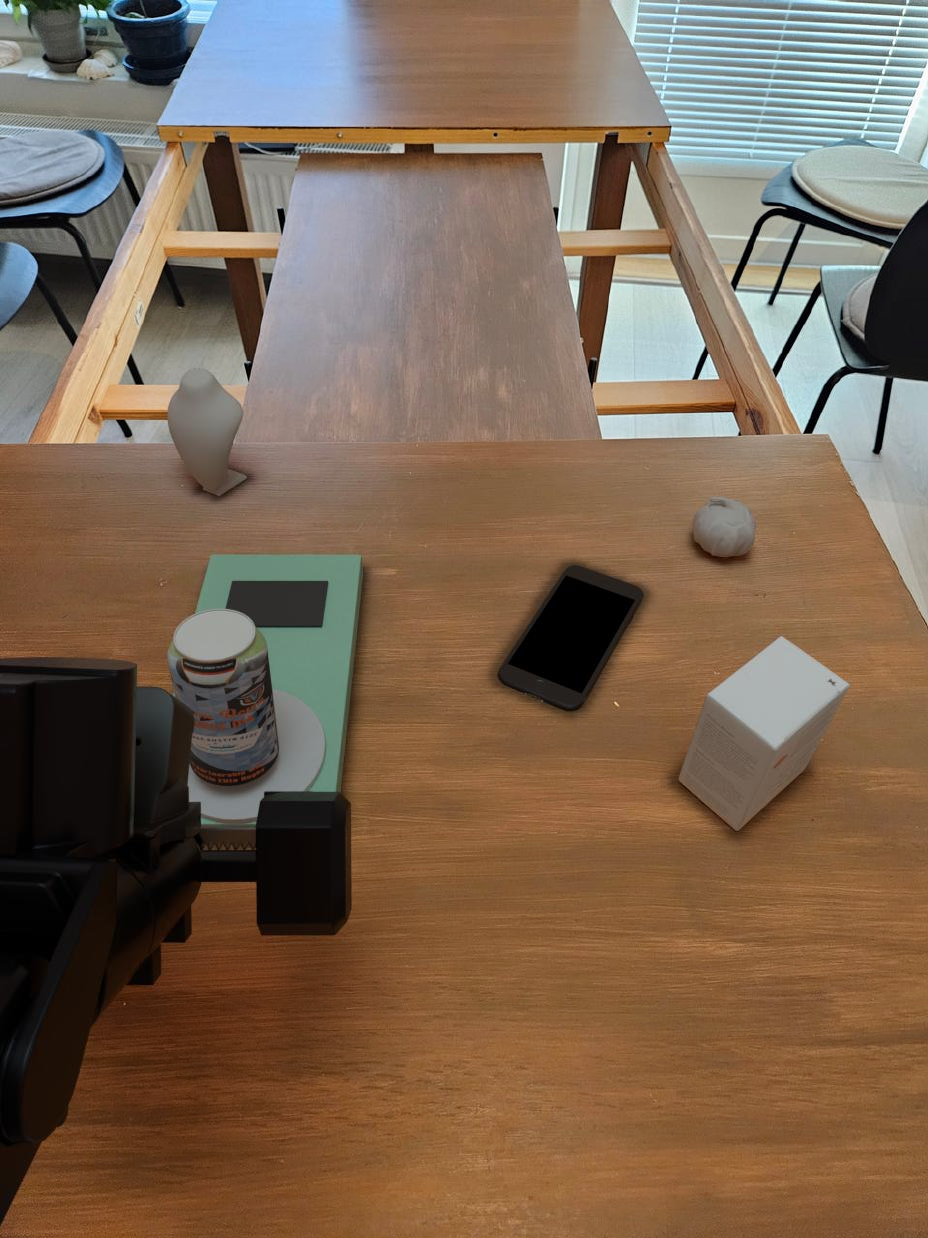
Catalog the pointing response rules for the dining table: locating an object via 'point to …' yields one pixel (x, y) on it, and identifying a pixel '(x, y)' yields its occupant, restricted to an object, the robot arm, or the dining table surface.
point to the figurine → (205, 429)
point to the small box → (760, 730)
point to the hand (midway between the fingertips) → (199, 815)
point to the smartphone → (571, 638)
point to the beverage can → (225, 695)
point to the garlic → (724, 527)
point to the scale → (291, 668)
